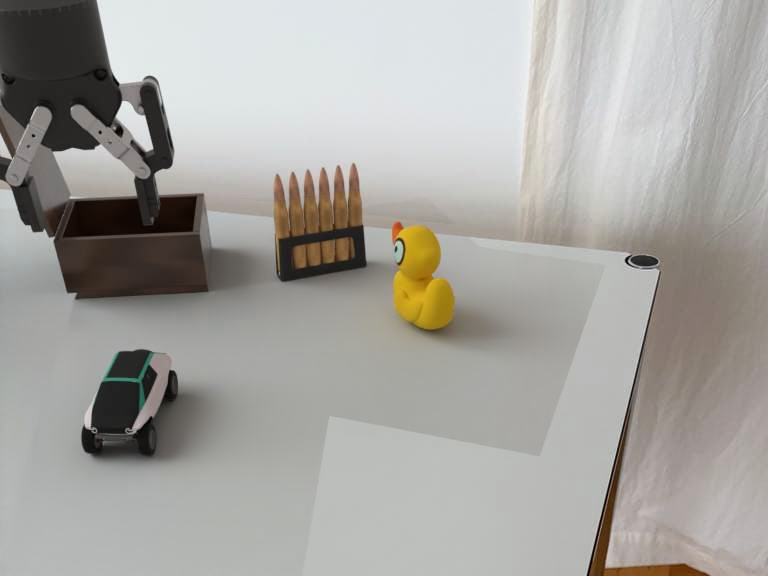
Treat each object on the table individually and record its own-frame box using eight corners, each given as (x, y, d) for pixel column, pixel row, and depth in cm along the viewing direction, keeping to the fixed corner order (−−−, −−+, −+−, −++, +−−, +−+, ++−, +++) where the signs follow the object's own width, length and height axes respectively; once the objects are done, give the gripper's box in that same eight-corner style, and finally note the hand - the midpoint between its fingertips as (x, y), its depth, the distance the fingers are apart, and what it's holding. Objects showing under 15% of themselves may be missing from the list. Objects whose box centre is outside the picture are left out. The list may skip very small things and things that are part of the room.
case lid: (6, 43, 94) (-1, 45, 94) (-19, 76, 85) (-26, 78, 86) (71, 194, 105) (65, 195, 105) (55, 236, 97) (48, 238, 97)
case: (211, 247, 111) (203, 192, 107) (208, 291, 103) (199, 234, 98) (82, 253, 110) (69, 198, 105) (68, 298, 101) (52, 241, 97)
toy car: (181, 387, 88) (171, 339, 85) (151, 462, 80) (139, 411, 76) (121, 385, 88) (109, 337, 85) (85, 460, 80) (70, 410, 76)
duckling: (374, 302, 101) (372, 215, 95) (416, 292, 103) (417, 206, 96) (421, 349, 94) (423, 258, 87) (465, 337, 96) (471, 247, 89)
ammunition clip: (280, 281, 105) (271, 178, 97) (276, 275, 106) (266, 172, 98) (366, 266, 108) (364, 164, 100) (361, 260, 109) (358, 158, 101)
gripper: (148, -24, 64) (187, 201, 75) (-59, -17, 63) (11, 211, 74) (139, 0, 59) (182, 239, 70) (-88, 9, 57) (-8, 251, 68)
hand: (94, 225), depth 72 cm, fingers open, 8 cm apart
